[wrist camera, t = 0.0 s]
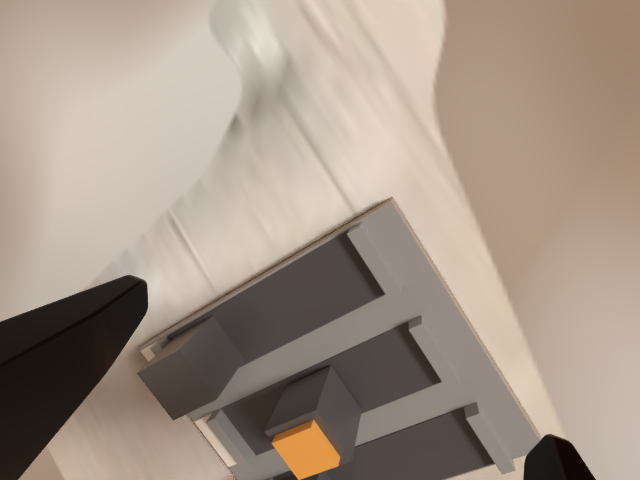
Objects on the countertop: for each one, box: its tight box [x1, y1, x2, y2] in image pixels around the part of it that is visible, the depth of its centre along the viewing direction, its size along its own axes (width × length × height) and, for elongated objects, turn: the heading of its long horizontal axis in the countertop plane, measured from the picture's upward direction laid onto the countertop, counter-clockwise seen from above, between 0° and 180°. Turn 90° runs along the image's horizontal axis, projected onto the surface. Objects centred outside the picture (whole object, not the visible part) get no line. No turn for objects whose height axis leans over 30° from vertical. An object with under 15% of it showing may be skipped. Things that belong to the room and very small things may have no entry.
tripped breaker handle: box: [264, 366, 362, 480], centre depth 24 cm, size 4×4×5 cm
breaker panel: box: [137, 197, 541, 480], centre depth 25 cm, size 20×17×5 cm
